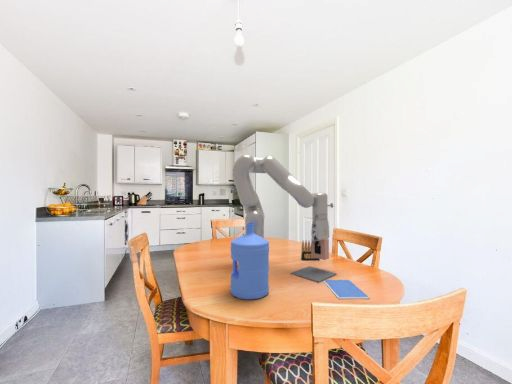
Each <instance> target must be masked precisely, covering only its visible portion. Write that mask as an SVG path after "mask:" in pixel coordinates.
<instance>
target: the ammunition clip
mask: <svg viewBox="0 0 512 384" xmlns="http://www.w3.org/2000/svg"><path fill="white" fill-rule="evenodd" d="M300 253H301V254H300V255H301V256H300V260H301V261H304V262H305V261H315V262H316V261H318V262H320V260H321V259H318V258H314V257H311V241H310V240H308V241H307V240H305V242H304V240H302V243H301V252H300Z"/></svg>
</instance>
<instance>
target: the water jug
mask: <svg viewBox="0 0 512 384" xmlns="http://www.w3.org/2000/svg"><path fill="white" fill-rule="evenodd" d="M246 225H247V227H246V232H245V233H244V234H242V235H240V236H238V237H236V238H234V239H232V240H231V242H230V259H231V260H232V272H231V274H230V289H229V290H230V294H231V295H232V296H234V297H235V298H238V299H240V300H250V301H251V300H257V299H262V298H264V297H265V296H267V295H268V294H269V291H270V289H269V287H270V285H269V276H270V275H269V273H270V265H269V263H270V261H269V258H270V255H269V253H270V245H269V240H268V239H266V238H265V237H264V238H262V237H260V236H258V235H256V234H254V223H246ZM238 266H239V269H238Z"/></svg>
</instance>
